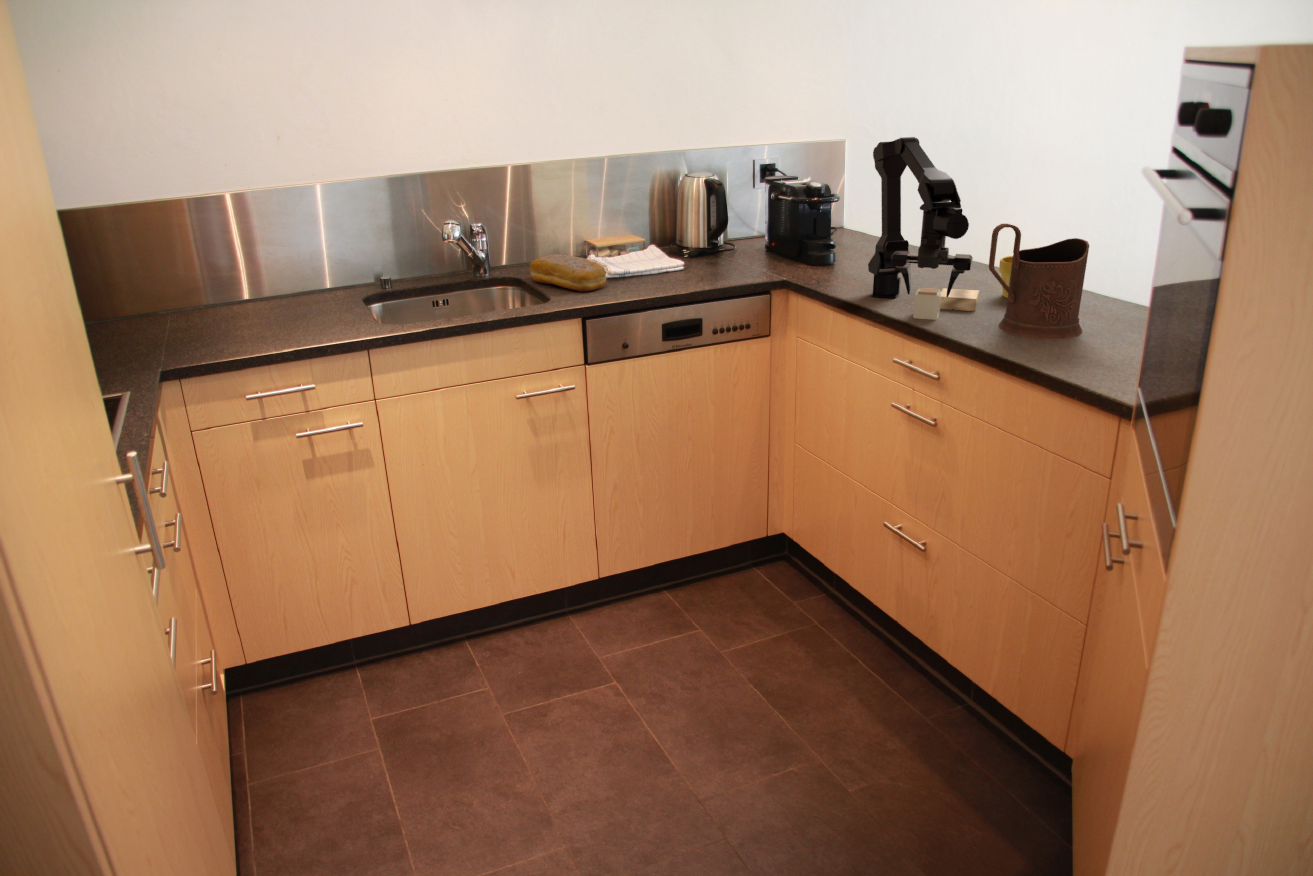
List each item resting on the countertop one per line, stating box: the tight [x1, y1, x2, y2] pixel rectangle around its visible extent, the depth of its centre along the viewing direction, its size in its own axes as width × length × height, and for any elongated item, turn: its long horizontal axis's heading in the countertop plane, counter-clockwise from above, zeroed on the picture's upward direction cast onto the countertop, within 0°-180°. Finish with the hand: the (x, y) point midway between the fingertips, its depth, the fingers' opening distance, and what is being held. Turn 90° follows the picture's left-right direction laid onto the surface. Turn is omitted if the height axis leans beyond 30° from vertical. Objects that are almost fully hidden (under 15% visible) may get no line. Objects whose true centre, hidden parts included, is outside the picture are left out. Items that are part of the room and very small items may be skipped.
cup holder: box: [988, 223, 1090, 341], centre depth 213 cm, size 18×24×25 cm
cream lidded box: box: [912, 287, 942, 321], centre depth 229 cm, size 6×6×7 cm
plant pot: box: [998, 255, 1013, 299], centre depth 244 cm, size 10×10×10 cm
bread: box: [529, 253, 607, 293], centre depth 270 cm, size 13×26×8 cm, turn 49°
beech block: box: [940, 287, 980, 312], centre depth 238 cm, size 9×9×4 cm
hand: (928, 295), depth 228 cm, fingers open, 9 cm apart
